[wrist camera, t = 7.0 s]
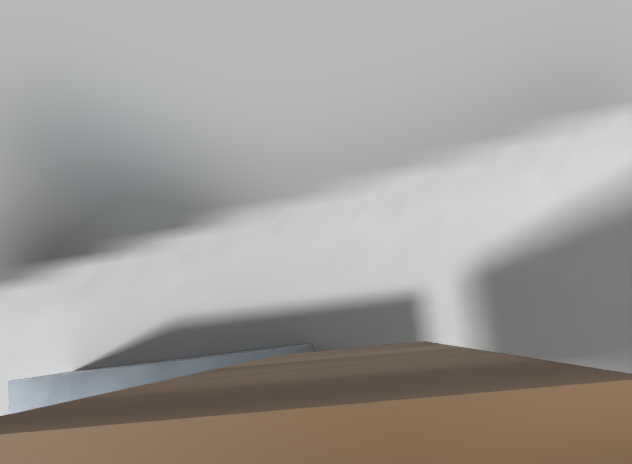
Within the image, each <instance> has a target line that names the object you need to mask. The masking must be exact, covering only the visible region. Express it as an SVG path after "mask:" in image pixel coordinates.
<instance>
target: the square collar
mask: <svg viewBox="0 0 632 464" xmlns="http://www.w3.org/2000/svg"><path fill="white" fill-rule="evenodd" d="M307 352H313V343H310V344H302V345H293V346H285V347H276V348H268V349H259V350H250V351H242V352H233V353H225V354H216V355H208V356H199V357H191V358H182V359H174V360H165V361H157V362H148V363H140V364H131V365H122V366H114V367H105V368H97V369H88V370H80V371H72V372H65V373H59V374H52V375H46V376H39V377H32V378H26V379H19V380H13V381H9V414H13V413H18V412H22V411H27V410H31V409H36V408H40V407H45V406H49V405H54V404H59V403H63V402H68V401H72V400H77V399H81V398H86V397H90V396H95V395H99V394H104V393H108V392H113V391H118V390H122V389H127V388H131V387H136V386H140V385H145V384H149V383H154V382H158V381H163V380H167V379H172V378H177V377H181V376H186V375H190V374H195V373H199V372H204V371H208V370H213V369H217V368H222V367H226V366H231V365H236V364H240V363H245V362H249V361H254V360H258V359H263V358H267V357H272V356H276V355H286V354H297V353H307Z"/></svg>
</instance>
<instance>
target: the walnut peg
mask: <svg viewBox="0 0 632 464" xmlns="http://www.w3.org/2000/svg"><path fill="white" fill-rule="evenodd" d="M0 464H632V374H628V373H622V372H616V371H609V370H603V369H596V368H590V367H584V366H577V365H571V364H565V363H558V362H552V361H546V360H539V359H533V358H527V357H520V356H514V355H508V354H501V353H495V352H489V351H482V350H476V349H470V348H463V347H457V346H451V345H444V344H438V343H432V342H425V341H424V342H413V343H403V344H392V345H381V346H371V347H360V348H350V349H339V350H329V351H318V352H307V353H297V354H286V355H276V356H272V357H267V358H263V359H258V360H254V361H249V362H245V363H240V364H236V365H231V366H226V367H222V368H217V369H213V370H208V371H204V372H199V373H195V374H190V375H186V376H181V377H177V378H172V379H167V380H163V381H158V382H154V383H149V384H145V385H140V386H136V387H131V388H127V389H122V390H118V391H113V392H108V393H104V394H99V395H95V396H90V397H86V398H81V399H77V400H72V401H68V402H63V403H59V404H54V405H49V406H45V407H40V408H36V409H31V410H27V411H22V412H18V413H13V414H9V415H4V416H0Z"/></svg>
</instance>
